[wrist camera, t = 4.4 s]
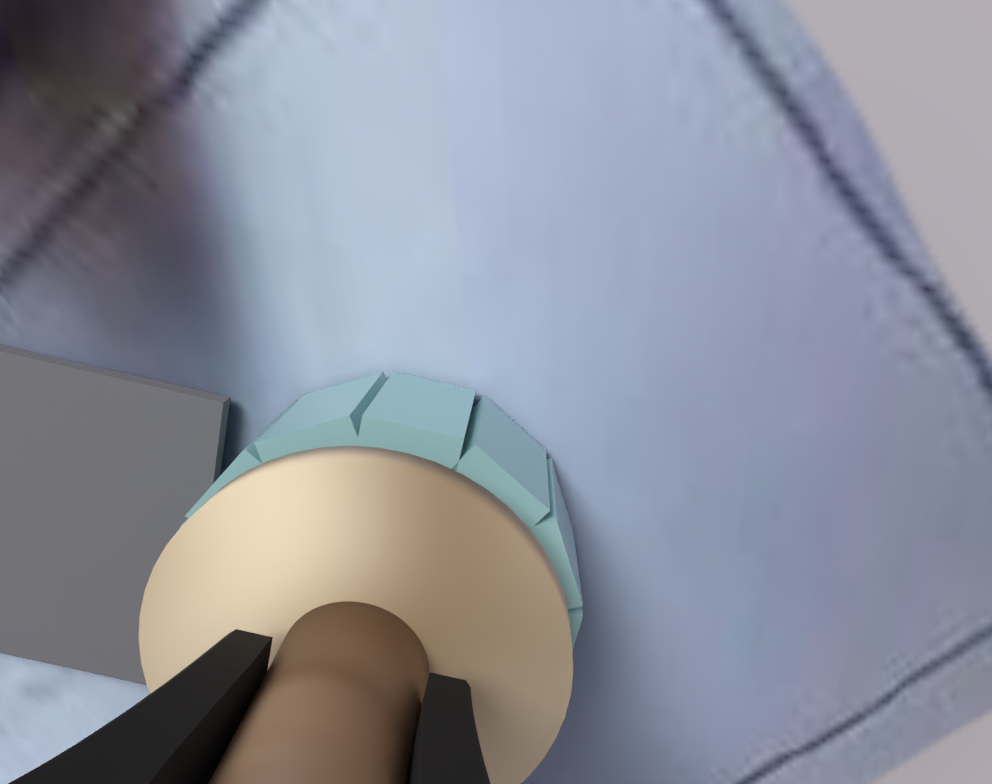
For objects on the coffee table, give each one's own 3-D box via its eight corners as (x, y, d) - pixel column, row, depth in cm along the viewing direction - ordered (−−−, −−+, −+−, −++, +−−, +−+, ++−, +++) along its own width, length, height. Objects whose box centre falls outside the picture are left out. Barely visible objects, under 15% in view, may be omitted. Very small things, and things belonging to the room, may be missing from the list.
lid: (140, 751, 14) (-44, 1024, 10) (187, 397, 12) (-21, 532, 7) (511, 839, 14) (503, 1147, 10) (623, 507, 12) (680, 703, 8)
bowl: (219, 639, 18) (156, 731, 15) (260, 340, 16) (197, 377, 13) (524, 706, 19) (523, 811, 15) (607, 420, 16) (626, 475, 13)
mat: (-112, 616, 19) (-125, 625, 18) (-116, 317, 16) (-132, 321, 16) (193, 683, 19) (187, 693, 18) (230, 397, 16) (223, 402, 16)
